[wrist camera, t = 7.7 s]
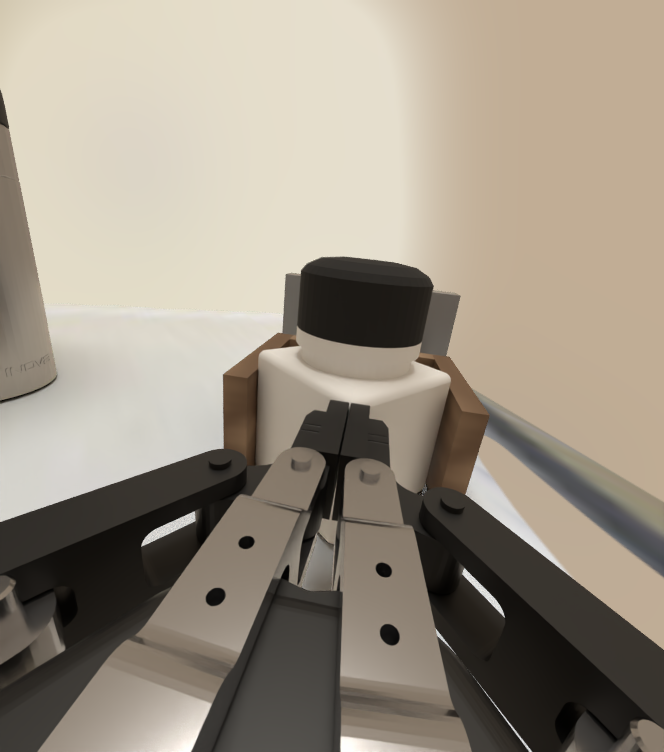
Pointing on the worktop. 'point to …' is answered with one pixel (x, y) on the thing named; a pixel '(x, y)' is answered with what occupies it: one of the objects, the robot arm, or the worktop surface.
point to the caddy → (453, 441)
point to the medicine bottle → (356, 363)
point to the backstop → (435, 328)
